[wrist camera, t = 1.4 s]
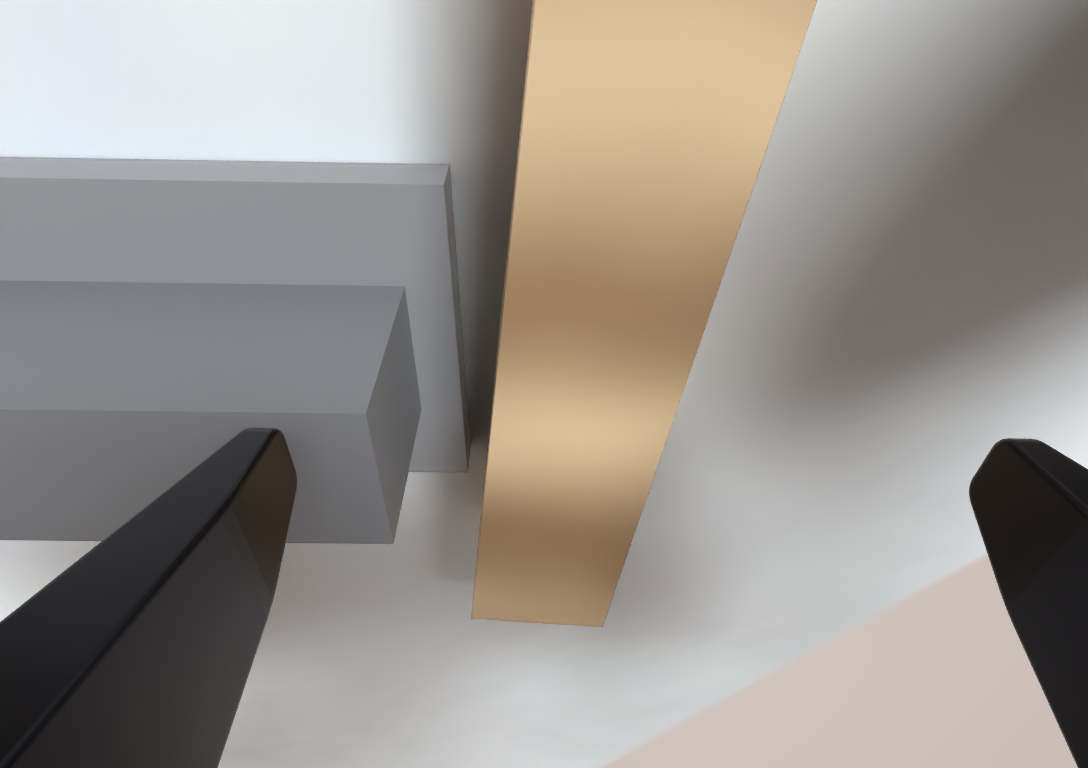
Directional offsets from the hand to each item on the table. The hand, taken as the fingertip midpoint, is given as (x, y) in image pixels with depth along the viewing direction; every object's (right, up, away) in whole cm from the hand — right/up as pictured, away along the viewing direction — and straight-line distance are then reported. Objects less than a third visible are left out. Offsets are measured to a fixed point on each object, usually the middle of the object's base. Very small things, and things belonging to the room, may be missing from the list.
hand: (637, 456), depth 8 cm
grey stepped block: (-10, +2, +7) cm, 13 cm away
